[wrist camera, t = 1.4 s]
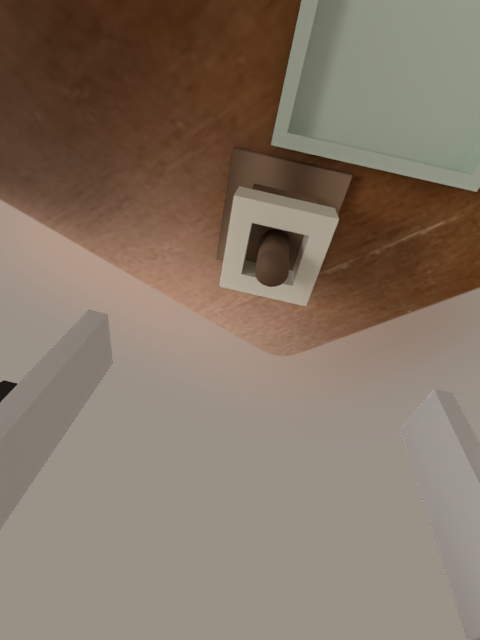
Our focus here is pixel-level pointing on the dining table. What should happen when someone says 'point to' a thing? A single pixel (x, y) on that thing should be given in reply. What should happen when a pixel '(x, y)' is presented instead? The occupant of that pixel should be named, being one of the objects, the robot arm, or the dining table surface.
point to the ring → (285, 216)
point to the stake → (285, 180)
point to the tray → (386, 87)
